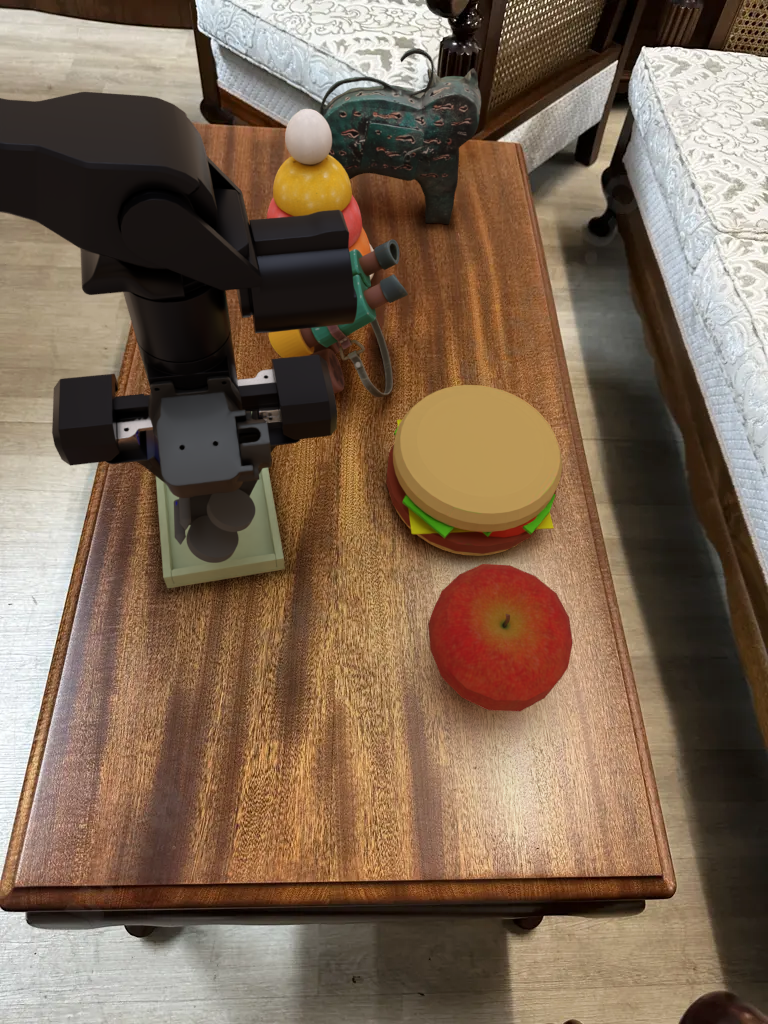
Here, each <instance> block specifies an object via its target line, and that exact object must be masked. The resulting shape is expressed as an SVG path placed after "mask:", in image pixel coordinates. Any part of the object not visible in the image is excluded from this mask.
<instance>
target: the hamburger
mask: <svg viewBox="0 0 768 1024" xmlns="http://www.w3.org/2000/svg"><path fill="white" fill-rule="evenodd" d="M396 423H397V424H396V425H397V427H396V429H395V431H394V433H393V435H394V442H393V444H392V446H391V448H390V451H389V452H388V458H387V469H386V479H385V484H386V487H387V490H388V494H389V497H390V500H391V504H392V506H393V507H394V509H395V511H396V513H397V514H398V516H399V518H400V519H401V520H402V521H403V523H404V524H405V525H406V527H408V529H409V530H410V533H411V535H416V536H418V538H420V539H422V540H424V541H425V542H426V543H428V544H430V545H431V546H434V547H436V548H438V549H440V550H443V551H445V552H449V553H452V554H456V555H462V556H477V557H478V556H480V557H482V556H490V555H495V554H499V553H503V552H506V551H507V550H510V549H513V548H515V547H517V546H518V545H520V544H521V543H523V542H525V541H527V540H528V539H531V538H532V537H533V536H534V534H535V533H536V532H537V531H538V530H552V529H553V530H554V528H555V527H554V524H553V518H552V516H551V509H552V507H553V503H554V501H555V498H556V494H557V489H558V486H559V483H560V481H561V478H562V477H561V476H562V472H563V458H562V457H563V456H562V451H561V448H560V445H559V442H558V439H557V436H556V434H555V432H554V430H553V428H552V427H551V424H550V423H549V422H548V421H547V420H546V418H545V417H544V416H543V414H541V413H540V412H539V410H537V408H535V407H534V406H533V405H531V404H530V403H528V401H526V400H524V399H522V398H521V397H519V396H517V395H516V394H513V393H510V392H508V391H506V390H503V389H500V388H496V387H493V386H486V385H481V384H462V385H454V386H449V387H448V386H447V387H445V388H442V389H438V390H436V391H434V392H432V393H429V394H428V395H426V396H424V397H423V398H422V399H420V400H419V401H418V402H417V403H416V404H414V405H413V406H412V407H411V408H410V409H409V410H408V411H407V412H406V413H405V414H404V416H403V417H402V419H401V418H400V419H396Z"/></svg>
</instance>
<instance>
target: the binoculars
mask: <svg viewBox="0 0 768 1024" xmlns="http://www.w3.org/2000/svg"><path fill="white" fill-rule="evenodd" d="M373 250H374V251H372V252H370V253H368V254H366V255H364V256H362V254H361V253H360V251H359V250H357V249H354V250H352V251H350V252H349V253H350V258H351V265H352V273H353V285H354V288H355V291H356V295H357V313H356V318H355V321H354V322H353V323H351V324H342V325H333V326H324V327H315V328H306V329H297V330H288V331H279V332H270V333H268V340H269V343H270V345H271V346H272V348H273V350H274V351H275V353H276V354H278V355H279V357H280V358H286V357H297V356H308V355H320V356H321V357H322V358H323V359H324V360H325V361H327V364H328V369H329V373H330V378H331V382H332V386H333V391H334V395H335V394H337V393H340V392H342V391H343V390H344V389H345V377H344V373H343V369H342V366H341V365H342V364H341V363H340V360H339V359H338V356H337V354H339V355H340V356H339V357H340V359H341V361H348V360H350V362H351V363H352V364H353V367H354V369H355V370H356V373H357V374H358V377H359V380H360V382H361V384H362V385H363V387H364V388H365V389H366V391H367V392H368V393H369V394H370V395H372V396H373V397H375V398H379V399H380V398H383V397H386V396H387V395H390V394H391V393H392V391H393V388H394V387H393V384H394V380H393V379H394V378H393V369H392V368H393V367H392V362H391V358H390V352H389V349H388V345H387V342H386V339H385V336H384V333H383V331H382V329H381V326H380V323H379V320H378V319H377V312H376V309H377V308H380V307H381V306H383V305H385V304H387V303H389V304H392V303H394V302H397V301H399V300H401V299H403V298H405V297H407V296H408V295H409V293H408V291H407V289H406V288H405V287H404V286H403V285H402V284H401V282H400V281H399V279H398V277H397V276H396V275H395V274H394V273H393V274H391V275H389V276H387V277H385V278H382V279H381V280H380V281H379V283H377V284H375V285H373V286H372V283H371V282H372V280H371V281H370V275H371V274H373V273H374V274H376V273H378V272H379V271H382V270H383V271H386V270H388V269H390V268H392V267H394V266H396V265H398V264H399V261H400V247H399V244H398V242H397V240H395V239H394V238H392V239H390V240H387V241H386V242H383V243H381V244H379V245H378V246H376V247H374V249H373ZM369 324H370V325H371V328H372V331H373V333H374V335H375V337H376V341H377V344H378V347H379V351H380V354H381V359H382V363H383V369H384V378H385V379H384V380H385V388H384V392H381V391H380V390H379V389H378V388H377V387H376V386H375V385H374V383H372V381H371V379H370V377H369V375H368V373H367V371H366V368H365V365H364V363H363V361H362V360H363V359H362V358H361V356H360V355H361V354H362V353H364V352H365V351H366V348H365V346H364V345H363V344H362V343H360V342H359V341H358V340H357V339H351V338H350V337H348V336H350V335H351V334H353V333H354V332H357V331H359V330H360V329H362V328H363V327H365V326H367V325H369ZM353 344H355V345H356V346H357V347H359V348H360V349H359V350H353V351H351V352H349V353H348V354H347V356H345V354H344V350H346V349H348V348H350V347H352V346H353Z"/></svg>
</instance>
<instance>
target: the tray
mask: <svg viewBox="0 0 768 1024" xmlns="http://www.w3.org/2000/svg"><path fill="white" fill-rule="evenodd" d="M251 413H252V411H251ZM259 479H260V480H258V481H257V483H256V485H255V487H254V489H253V491H252V493H251V495H250V498H251V499H252V500H253V502H254V505H255V516H254V518H253V520H252V522H251V523H250V525H249V526H248V527H247V528H246V529H244V530H241V531H238V532H237V533H238V537H239V541H238V545H237V547H236V549H235V551H234V553H233V555H232V556H231V557H230V558H229V559H227V560H225V561H223V562H219V563H210V562H206V561H203V560H201V559H199V558H197V557H196V556H195V555H194V554H193V553H192V552H191V551H190V549H189V547H188V545H187V540H186V538H185V539H184V541H183V542H182V544H181V545H180V544H179V542H178V541H177V540H176V539H175V532H174V501H175V500H177V499H179V497H177V496H175V495H173V494H172V492H171V491H170V490H169V488H168V486H167V485H166V484H165V483H164V482H163V481H161V480H160V479H159V478H158V477H156V476H155V484H156V499H157V509H158V510H157V511H158V512H157V513H158V524H159V526H158V527H159V539H160V553H161V565H162V566H161V567H162V578H163V580H164V583H165V586H166V588H167V589H173V588H179V587H185V586H191V585H197V584H198V585H199V584H202V583H203V584H204V583H210V582H216V581H221V580H228V579H234V578H239V577H247V576H252V575H259V574H264V573H270V572H271V573H272V572H277V571H282V570H286V566H285V556H284V551H283V545H282V540H281V534H280V528H279V522H278V516H277V510H276V506H275V499H274V494H273V488H272V487H273V486H272V482H271V476H270V470H269V468H263V469H262V471H261V472H260V474H259ZM190 526H191V525H189V526H188V528H187V529H186V530H185V535H186V537H187V533H188V530H189V528H190Z"/></svg>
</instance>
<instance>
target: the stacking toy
mask: <svg viewBox="0 0 768 1024" xmlns="http://www.w3.org/2000/svg"><path fill="white" fill-rule="evenodd" d="M284 137H285V138H284V142H285V147H286V149H287V151H288V153H289V155H290V156H289V157H288V158H286V160H284V161H283V162H282V164H281V165H280V167H279V168H278V170H277V171H276V174H275V177H274V181H273V186H272V198H271V200H270V203H269V206H268V209H267V213H266V219H268V218H280V217H293V216H304V215H309V214H312V213H316V212H320V211H329V210H340V211H341V212H342V213H343V216H344V219H345V222H346V225H347V228H348V231H349V252H350V251H352V250H354V249H357V250H359V251H360V253H361V254H362V256H364V255H366V254H368V253H370V252H372V251H374V249H373V246H372V244H370V241H369V238H368V235H367V233H366V231H365V229H364V227H363V219H362V213H361V210H360V207H359V204H358V202H357V200H356V198H355V196H354V195H353V189H352V184H351V179H350V180H349V177H348V175H347V173H346V171H345V169H344V168H343V166H342V165H341V164H340V163H339V162H338V161H337V160H336V159H335V158H333V157H332V156H330V155H328V154H329V152H330V150H331V146H332V134H331V130H330V127H329V125H328V123H327V121H326V120H325V118H324V117H323V116H322V115H321V114H320V113H319V112H318V111H317V110H315V109H312V108H304V109H300V110H298V111H297V112H296V113H294V114H293V115H292V116H291V118H290V120H289V121H288V123H287V125H286V129H285V133H284ZM374 275H375V273H373V274H371V275H370V281H371V282H372V279H373V277H374Z"/></svg>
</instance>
